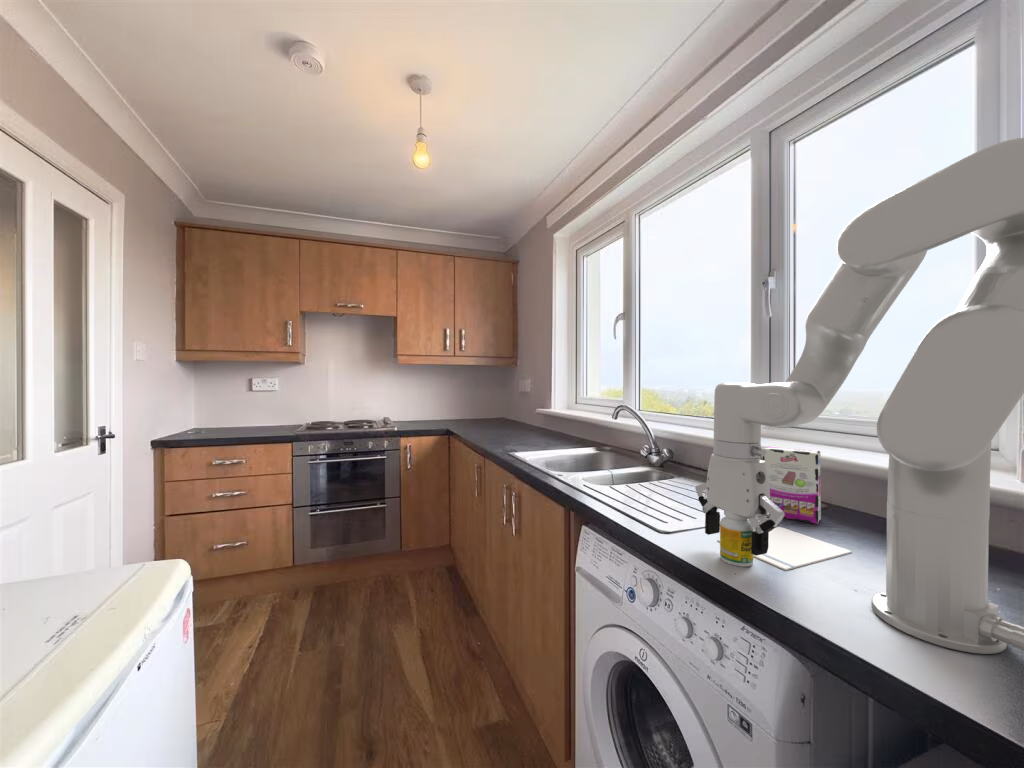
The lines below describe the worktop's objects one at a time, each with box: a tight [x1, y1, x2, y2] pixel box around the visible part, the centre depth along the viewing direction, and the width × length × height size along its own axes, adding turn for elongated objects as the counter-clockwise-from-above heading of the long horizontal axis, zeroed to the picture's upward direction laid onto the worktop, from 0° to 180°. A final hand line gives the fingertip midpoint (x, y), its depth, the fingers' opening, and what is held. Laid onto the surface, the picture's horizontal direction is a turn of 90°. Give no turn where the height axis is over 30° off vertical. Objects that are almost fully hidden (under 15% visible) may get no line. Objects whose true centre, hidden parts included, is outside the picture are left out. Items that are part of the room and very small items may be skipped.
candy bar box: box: [762, 446, 822, 525], centre depth 98 cm, size 11×5×16 cm, turn 47°
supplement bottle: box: [719, 510, 754, 568], centre depth 74 cm, size 5×5×10 cm
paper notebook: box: [716, 526, 853, 572], centre depth 81 cm, size 14×19×1 cm
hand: (734, 542), depth 75 cm, fingers open, 9 cm apart
